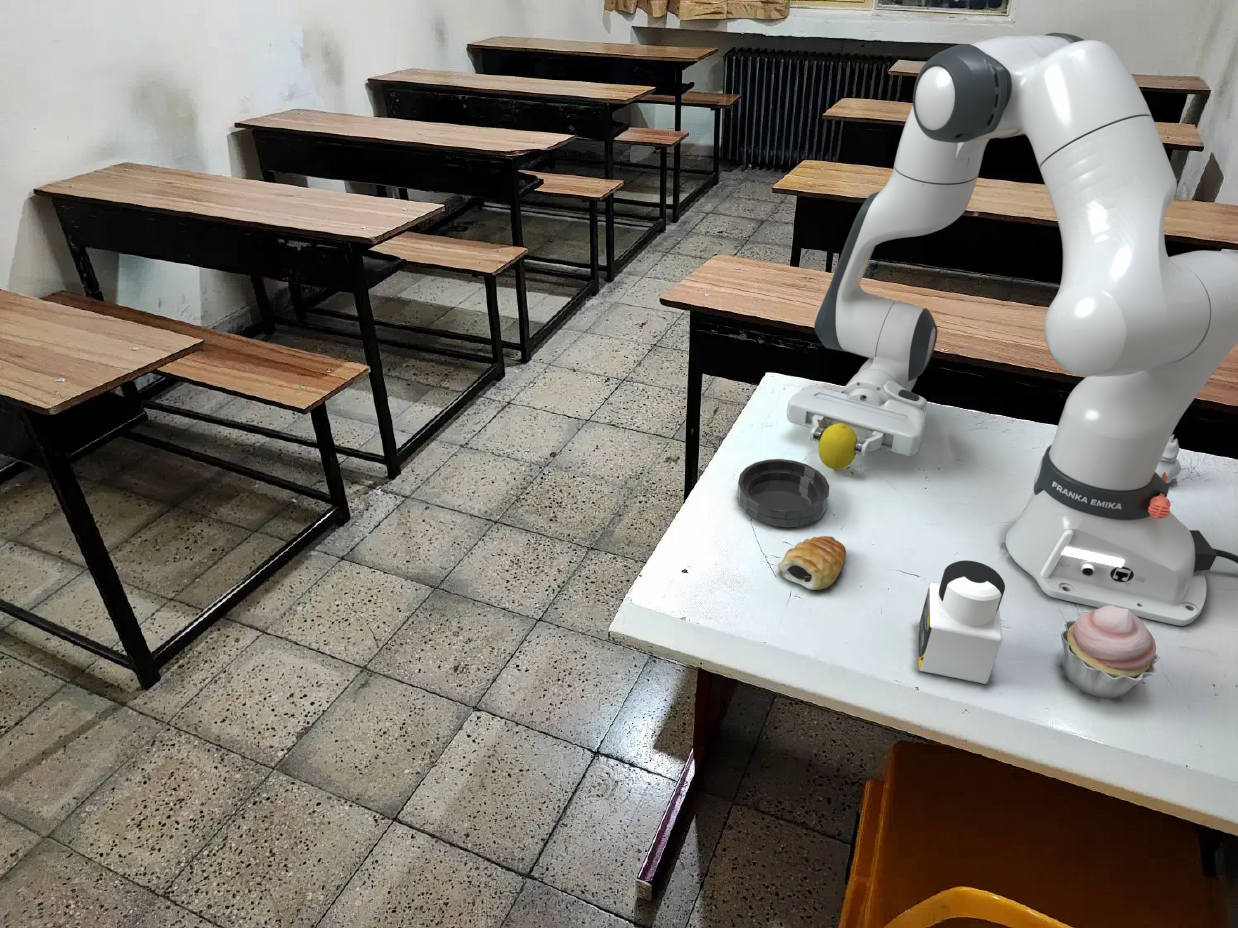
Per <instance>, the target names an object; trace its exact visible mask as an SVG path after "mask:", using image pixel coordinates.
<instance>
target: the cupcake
mask: <svg viewBox="0 0 1238 928" xmlns="http://www.w3.org/2000/svg"><path fill="white" fill-rule="evenodd" d="M1064 629H1065V630H1063V631H1061V633H1060V638H1061V642H1062V647H1063V663H1062V665H1063V670H1064V674H1065V676H1066V678H1067V679H1068V680H1069V681H1070V683H1072V685H1073V686H1075V687H1076V688H1077V689H1079V690H1080V691H1081V692H1084V693H1086V694H1087V695H1090V696H1092V697H1096V698H1101V699H1107V700H1109V699H1117V698H1120V697H1122V696H1124V695H1125V694H1126V693H1127V692H1129V691H1130V690H1131V689H1132V688H1133V687H1134V686H1135V685H1136V684H1138V683H1139V682H1140V681H1141V680H1143V679H1146V678H1148V677H1151V676H1153V675H1156V674H1157V673H1158V672H1157V668H1156V667H1155V665H1154V664H1156V663H1157V662H1158V661H1160V659H1161V657H1160V656H1159V654H1157V644H1156V640H1155V638H1154V636H1153V635H1152V633H1151V631H1149V629H1148V628H1147V626H1146V625H1145V623H1144V622H1143V621H1142V619H1140V617H1138V616H1135V615H1134V614H1132V613H1131V612H1130V611H1129V609H1122V608H1119V607H1116V606H1113V605H1109V606H1104V607H1102V608H1097V609H1092V610H1089V611H1085V612H1083V613H1082V614H1080V615H1079V616H1078V617H1077V618H1076V619H1074V620H1073V619H1072V620H1071V619H1070V620H1069V619H1068V620H1065V621H1064Z"/></svg>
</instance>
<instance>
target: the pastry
mask: <svg viewBox="0 0 1238 928" xmlns="http://www.w3.org/2000/svg"><path fill="white" fill-rule="evenodd" d="M846 555H847V550H846V547H845V545H844V544H843V543H842V542H840V541H839V540H837V539H835V537H834V536H828V535H822V536H818V537H817V536H813V537H811V538H810V539H809V538H805V539H804V540H803V541H801V542H798V543H796V544H795V546H794V547H791V548H789V549H788V550H787V551H786V552H785V555H784V557H783V559H782V561H781V562H779V563H778V566H777V567H778V571H779V572H780V573H781V576H782V577H783V578H784V579H786V580H788V581H790V582H792V583H794V584H797V585H801V586H803V587H804V588H806V589H808V590H811V591H816V590H818V591H820V590H824V589H827V588H829V587H831V586H832V585H833V583H835V581H836V579H837V578H838V576H839V575H840V574H841V571H842V568H843V566H844V564H845V561H846Z"/></svg>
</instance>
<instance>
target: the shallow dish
mask: <svg viewBox="0 0 1238 928" xmlns="http://www.w3.org/2000/svg"><path fill="white" fill-rule="evenodd" d="M736 492H737V493H736V498H737V502H738V505H739V507H740V508H741V509H742V510H743V512H744V513H745V514H746V515H748V516H749V517H750V518H752V519H754V520H756V521H758V522H761V523H763V524H766V525H768V526H774V527H780V528H794V527H802V526H805V525H809V524H812V523H815V522H816V521H817V520H819V519H821V518H822V517H823V515H824V514H825V512H826V511H827V509H828V502H829V496H830V484H829V482H828V480H827V478H826V476H824V475H823V474H822V472H820V471H819V470H818V469H817V468H814V467H813V466H811V465H808V464H807V463H804V462H801V461H797V460H791V459H784V458H771V459H763V460H761V461H755V462H753V463H752V464H750V465H748V466H747V467H745V468H744V469H743V470H742V471H741V472H740V474H739V477H738V482H737V491H736Z"/></svg>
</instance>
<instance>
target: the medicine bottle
mask: <svg viewBox="0 0 1238 928" xmlns="http://www.w3.org/2000/svg"><path fill="white" fill-rule="evenodd" d="M1005 591H1006V583H1005V581H1004V579H1003V577H1002V576H1001V575H1000V574H999V572H997V570H995V569H993V567H991V566H989V565H987V564H984V563H982V562H979V561H976V560H975V561H974V560H958V561H955V562H953V563H950V564H948V565H947V566H946V567H945V568H944V570H943V574H942V578H941V580H940V583H936V582H931V583H929V586H928V589H927V593H926V596H925V601H924V604H923V607H922V611H921V615H920V619H919V623H918V670H919V671H920V672H924V673H929V674H934V675H939V676H944V677H949V678H954V679H958V680H964V681H967V682H968V681H969V682H974V683H979V684H982V685H983V684H984V685H986V684H987V683H988V682H989V680H990V676H991V674H992V671H993V668H994V666H995V662H996V660H997V656H998V654H999V651H1000V649H1001V646H1002V642H1003V640H1004V639H1003V638H1004V637H1003V630H1002V621H1001V613H1000V611H1001V610H1000V606H1001V603H1002V600H1003V596H1004V595H1005Z"/></svg>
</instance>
